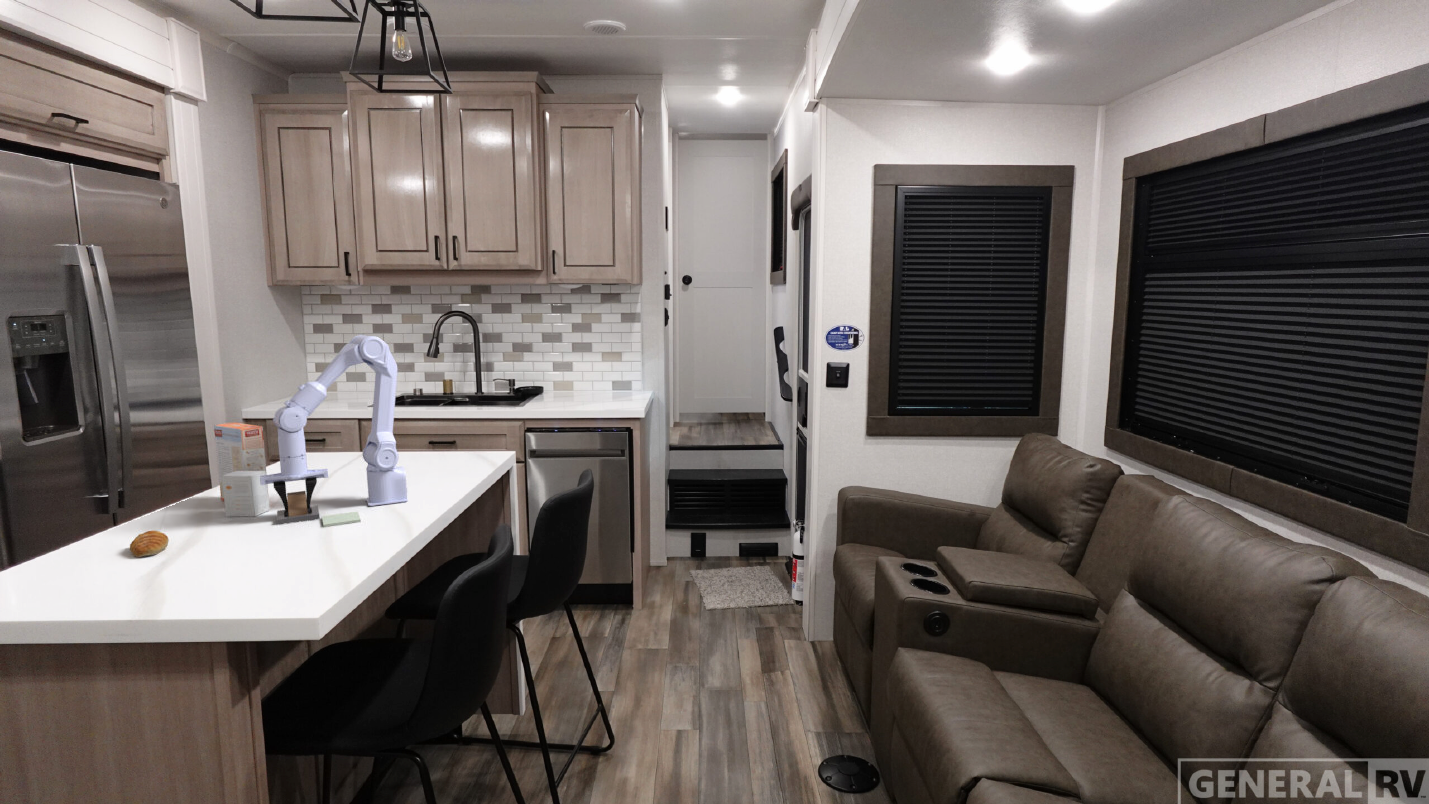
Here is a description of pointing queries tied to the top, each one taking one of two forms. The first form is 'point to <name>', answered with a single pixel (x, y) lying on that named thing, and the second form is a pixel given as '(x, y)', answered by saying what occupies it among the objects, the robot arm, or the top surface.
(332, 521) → the sage green board
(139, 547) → the pastry
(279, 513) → the collar
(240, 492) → the small box
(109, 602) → the top surface
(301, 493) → the walnut plug
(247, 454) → the cracker box
